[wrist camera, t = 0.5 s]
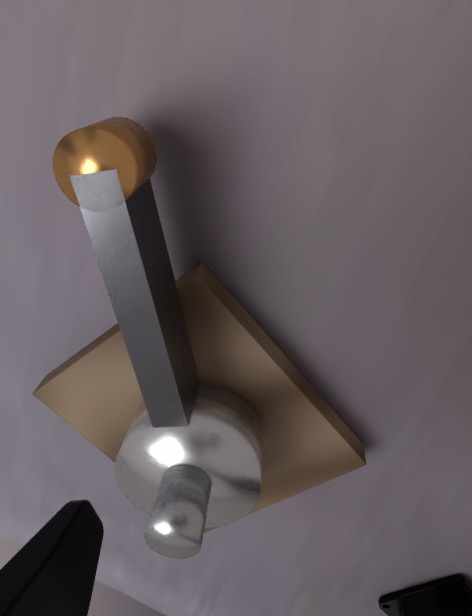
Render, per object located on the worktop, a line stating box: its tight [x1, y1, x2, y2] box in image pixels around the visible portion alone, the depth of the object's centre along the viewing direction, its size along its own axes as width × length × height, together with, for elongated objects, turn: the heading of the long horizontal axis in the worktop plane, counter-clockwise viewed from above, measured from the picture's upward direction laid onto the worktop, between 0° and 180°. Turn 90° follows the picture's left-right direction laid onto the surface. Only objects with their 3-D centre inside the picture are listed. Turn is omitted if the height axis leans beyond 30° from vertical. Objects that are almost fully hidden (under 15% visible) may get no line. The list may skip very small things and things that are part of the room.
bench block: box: [32, 261, 366, 533], centre depth 25 cm, size 14×12×2 cm
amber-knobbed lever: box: [53, 117, 264, 559], centre depth 18 cm, size 19×7×6 cm, turn 9°
